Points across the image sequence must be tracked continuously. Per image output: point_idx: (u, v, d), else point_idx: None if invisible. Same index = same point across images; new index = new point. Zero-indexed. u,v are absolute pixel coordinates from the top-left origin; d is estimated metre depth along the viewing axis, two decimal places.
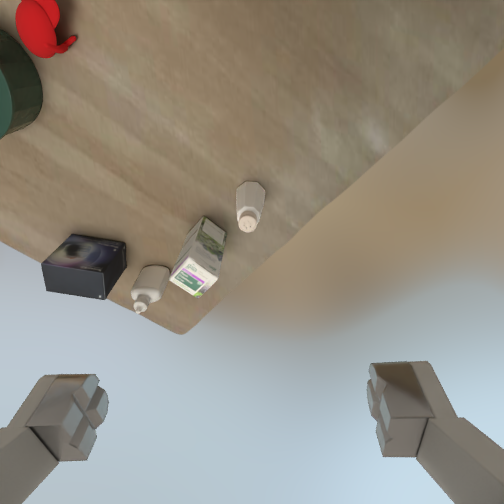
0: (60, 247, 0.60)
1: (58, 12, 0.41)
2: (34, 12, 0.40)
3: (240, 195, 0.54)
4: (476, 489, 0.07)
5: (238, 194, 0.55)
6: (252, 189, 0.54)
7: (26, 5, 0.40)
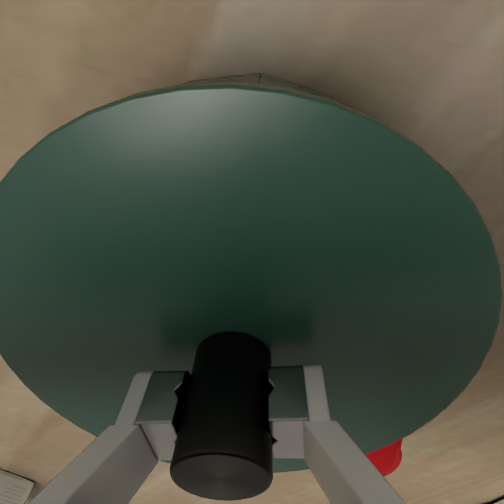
0: None
1: None
2: None
3: None
4: (338, 489, 0.07)
5: None
6: None
7: (390, 467, 0.19)
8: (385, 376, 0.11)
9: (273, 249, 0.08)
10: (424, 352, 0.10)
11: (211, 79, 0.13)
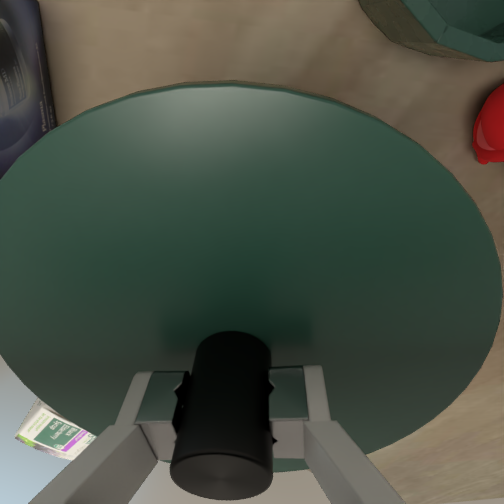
0: None
1: None
2: None
3: None
4: (338, 489, 0.07)
5: None
6: None
7: None
8: (385, 376, 0.11)
9: (273, 248, 0.08)
10: (424, 352, 0.10)
11: None
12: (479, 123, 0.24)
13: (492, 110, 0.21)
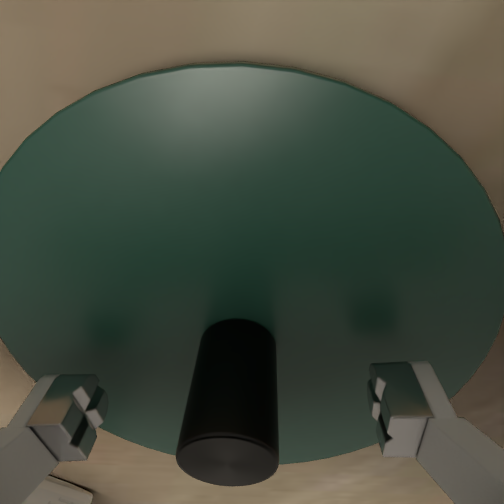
0: None
1: None
2: None
3: None
4: (476, 489, 0.07)
5: None
6: None
7: None
8: None
9: (280, 234, 0.08)
10: (430, 341, 0.10)
11: None
12: None
13: None
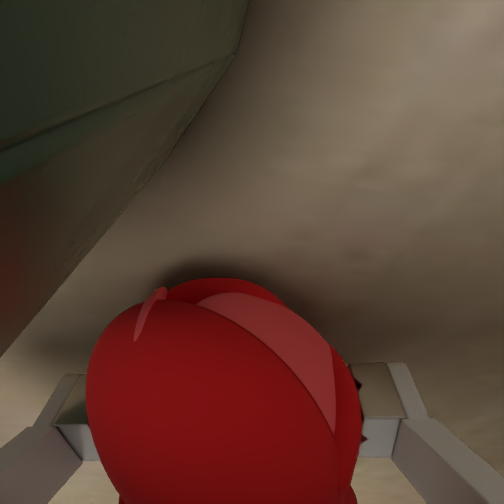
0: None
1: None
2: None
3: None
4: (446, 489, 0.07)
5: None
6: None
7: None
8: None
9: None
10: None
11: None
12: None
13: (87, 386, 0.08)
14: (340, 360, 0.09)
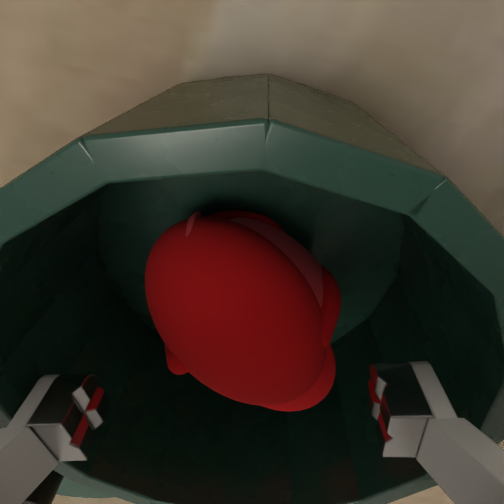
0: None
1: (277, 409, 0.13)
2: (282, 398, 0.10)
3: None
4: (476, 489, 0.07)
5: None
6: None
7: (307, 376, 0.10)
8: None
9: None
10: None
11: (208, 81, 0.10)
12: None
13: (145, 276, 0.11)
14: (327, 270, 0.12)
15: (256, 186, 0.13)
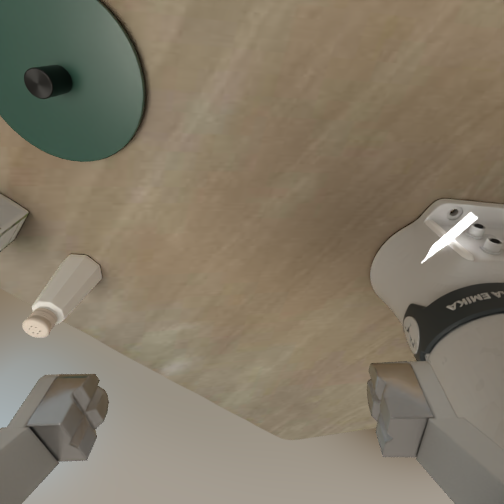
0: None
1: None
2: None
3: (77, 279, 0.40)
4: (476, 489, 0.07)
5: (78, 271, 0.41)
6: (89, 286, 0.42)
7: None
8: (113, 88, 0.31)
9: (57, 26, 0.29)
10: (120, 74, 0.31)
11: None
12: None
13: None
14: None
15: None
